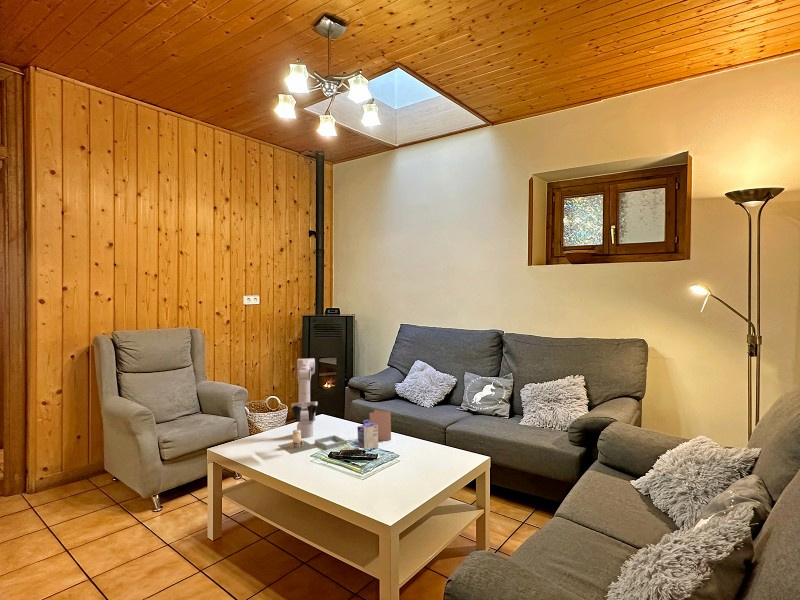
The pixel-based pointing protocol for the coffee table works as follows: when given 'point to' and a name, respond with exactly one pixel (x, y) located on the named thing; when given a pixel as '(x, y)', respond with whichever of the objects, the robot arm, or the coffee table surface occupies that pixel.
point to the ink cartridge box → (368, 435)
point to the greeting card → (382, 423)
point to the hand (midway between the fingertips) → (304, 421)
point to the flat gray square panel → (290, 448)
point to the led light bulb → (297, 438)
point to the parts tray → (334, 437)
